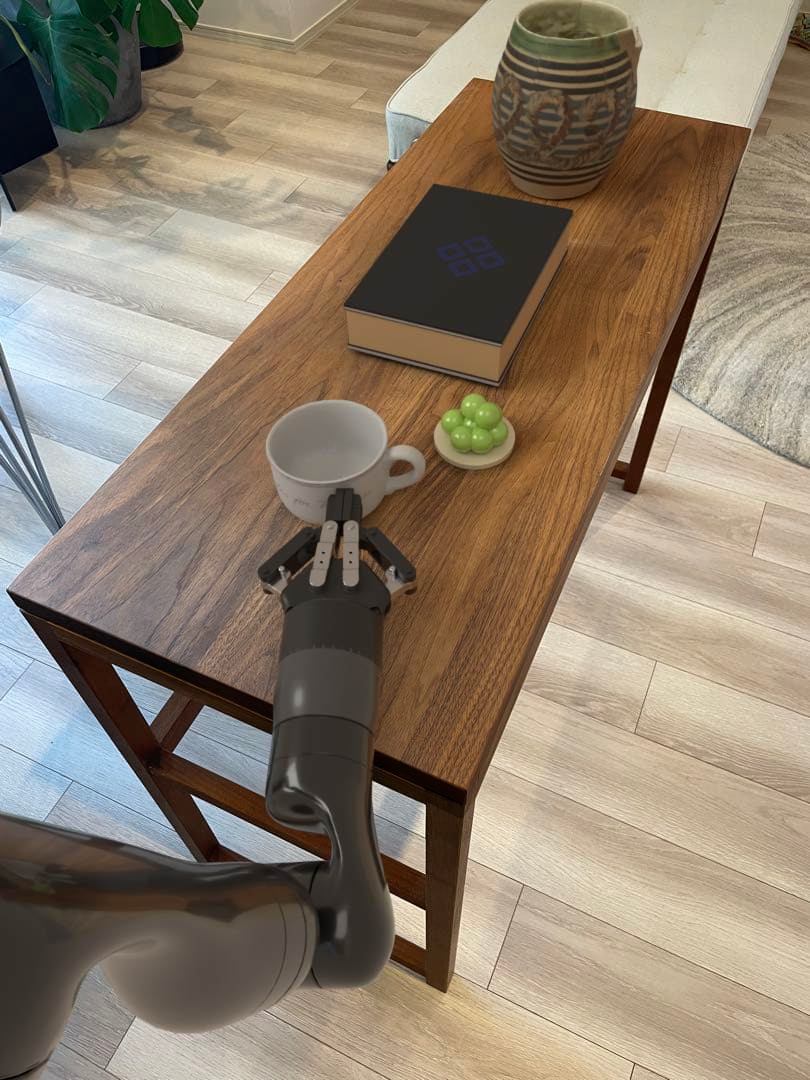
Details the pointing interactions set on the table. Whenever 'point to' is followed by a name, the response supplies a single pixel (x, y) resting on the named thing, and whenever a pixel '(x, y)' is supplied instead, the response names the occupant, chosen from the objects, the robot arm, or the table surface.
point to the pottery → (565, 95)
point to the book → (460, 283)
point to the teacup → (335, 457)
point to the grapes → (474, 434)
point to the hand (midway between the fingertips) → (345, 494)
